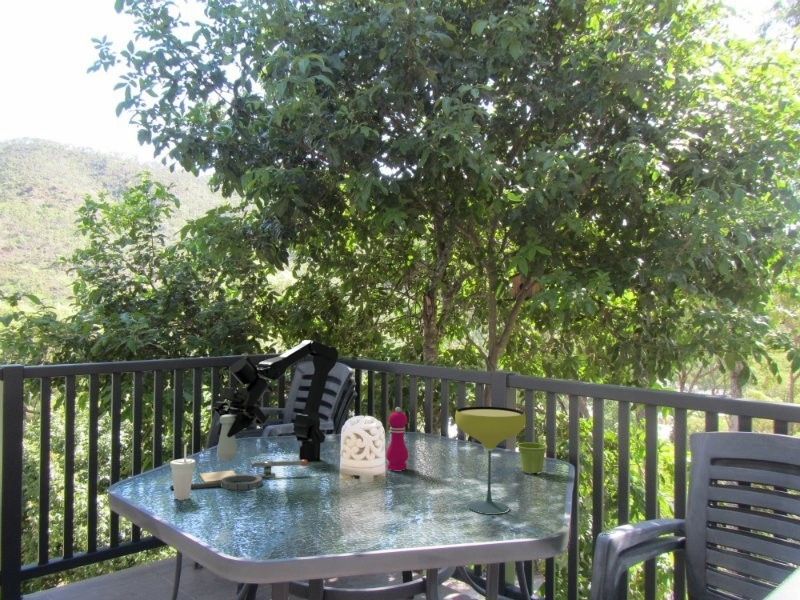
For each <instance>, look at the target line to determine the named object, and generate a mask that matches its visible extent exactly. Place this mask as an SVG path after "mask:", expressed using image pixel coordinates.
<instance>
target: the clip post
mask: <svg viewBox="0 0 800 600" xmlns="http://www.w3.org/2000/svg"><path fill="white" fill-rule="evenodd" d="M258 476H261V477H262V479H270V478H274V477H276V473H275V472H272V467H263V472H260V473H259V474H258Z"/></svg>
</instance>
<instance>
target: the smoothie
mask: <svg viewBox="0 0 800 600" xmlns="http://www.w3.org/2000/svg"><path fill="white" fill-rule="evenodd" d="M187 447H188V446H187V444H184V448H183V451H184V452H183V458H178V459H173V460H171V461H170V463H169V466H170V467H171V476H172V485H173V488H174V490H173V496H174V500H175V499H178V500H177V501H184V499H186V500H188V499H190V495H191V490H192V488H191V484H193V482H192V481H193V477H194V476H193V475H194V468H195V466H196V460H195V459H193V458H187Z"/></svg>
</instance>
